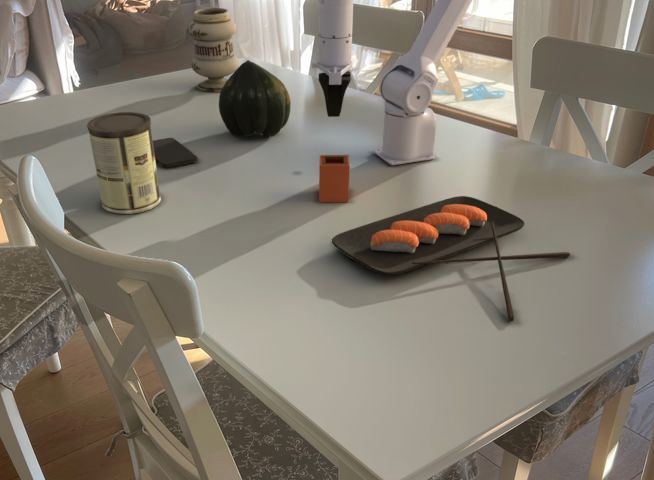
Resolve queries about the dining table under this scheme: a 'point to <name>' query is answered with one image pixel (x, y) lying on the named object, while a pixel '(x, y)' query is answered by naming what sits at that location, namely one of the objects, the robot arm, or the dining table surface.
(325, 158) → the orange open-ended box
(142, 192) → the coffee can
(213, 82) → the apothecary jar
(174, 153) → the phone
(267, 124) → the squash
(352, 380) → the dining table surface
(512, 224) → the sushi plate
